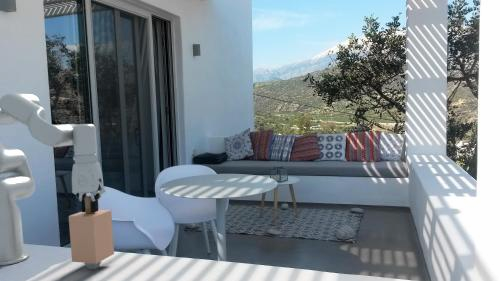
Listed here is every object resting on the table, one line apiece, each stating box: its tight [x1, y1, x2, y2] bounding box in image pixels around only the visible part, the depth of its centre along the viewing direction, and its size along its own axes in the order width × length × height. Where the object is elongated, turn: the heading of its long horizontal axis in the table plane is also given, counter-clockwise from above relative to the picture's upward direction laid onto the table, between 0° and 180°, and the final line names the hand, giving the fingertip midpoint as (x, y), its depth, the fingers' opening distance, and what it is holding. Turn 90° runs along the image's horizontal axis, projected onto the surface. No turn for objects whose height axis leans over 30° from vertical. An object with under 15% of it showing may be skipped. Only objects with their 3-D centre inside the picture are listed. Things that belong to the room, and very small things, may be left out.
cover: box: [68, 194, 115, 264], centre depth 154 cm, size 10×10×22 cm
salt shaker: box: [84, 261, 102, 270], centre depth 155 cm, size 6×6×13 cm
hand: (90, 211), depth 154 cm, fingers closed on cover, 3 cm apart
